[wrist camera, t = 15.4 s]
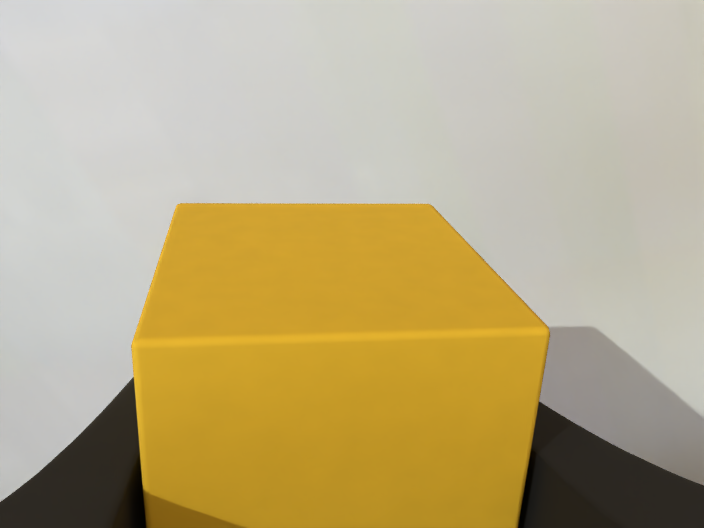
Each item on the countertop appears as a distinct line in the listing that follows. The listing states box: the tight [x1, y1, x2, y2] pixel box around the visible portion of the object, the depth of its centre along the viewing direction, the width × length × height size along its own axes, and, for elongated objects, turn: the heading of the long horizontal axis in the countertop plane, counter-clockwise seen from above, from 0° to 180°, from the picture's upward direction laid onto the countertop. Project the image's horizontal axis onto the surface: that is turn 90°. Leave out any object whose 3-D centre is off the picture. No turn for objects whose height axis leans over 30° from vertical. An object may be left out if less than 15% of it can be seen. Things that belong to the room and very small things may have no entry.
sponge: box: [131, 203, 550, 528], centre depth 10 cm, size 4×7×5 cm, turn 178°
